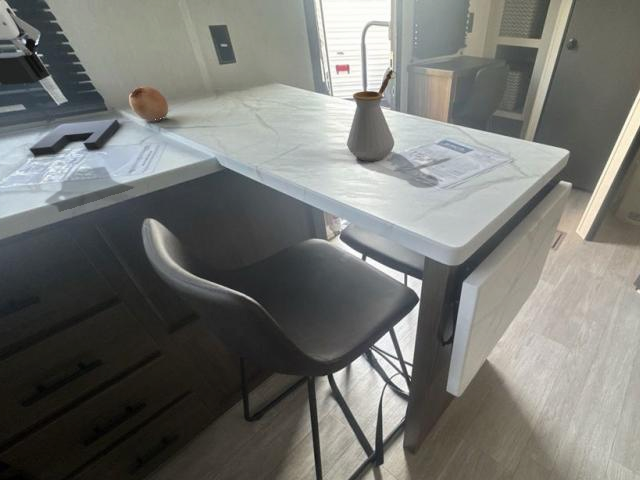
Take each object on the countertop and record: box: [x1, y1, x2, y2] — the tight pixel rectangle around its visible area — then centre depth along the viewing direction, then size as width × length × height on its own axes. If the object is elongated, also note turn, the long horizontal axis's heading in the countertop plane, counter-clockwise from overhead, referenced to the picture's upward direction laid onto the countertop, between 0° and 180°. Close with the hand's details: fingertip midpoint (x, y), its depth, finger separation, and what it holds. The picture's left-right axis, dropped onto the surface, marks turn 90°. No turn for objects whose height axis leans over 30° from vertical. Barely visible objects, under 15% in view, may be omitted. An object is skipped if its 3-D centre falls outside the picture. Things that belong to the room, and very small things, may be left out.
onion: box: [128, 85, 169, 123], centre depth 94 cm, size 10×9×10 cm
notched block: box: [28, 118, 120, 156], centre depth 86 cm, size 14×20×2 cm
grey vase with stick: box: [346, 69, 398, 162], centre depth 75 cm, size 21×12×15 cm, turn 160°
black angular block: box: [0, 51, 51, 86], centre depth 69 cm, size 6×8×4 cm
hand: (25, 76), depth 70 cm, fingers closed on black angular block, 6 cm apart
